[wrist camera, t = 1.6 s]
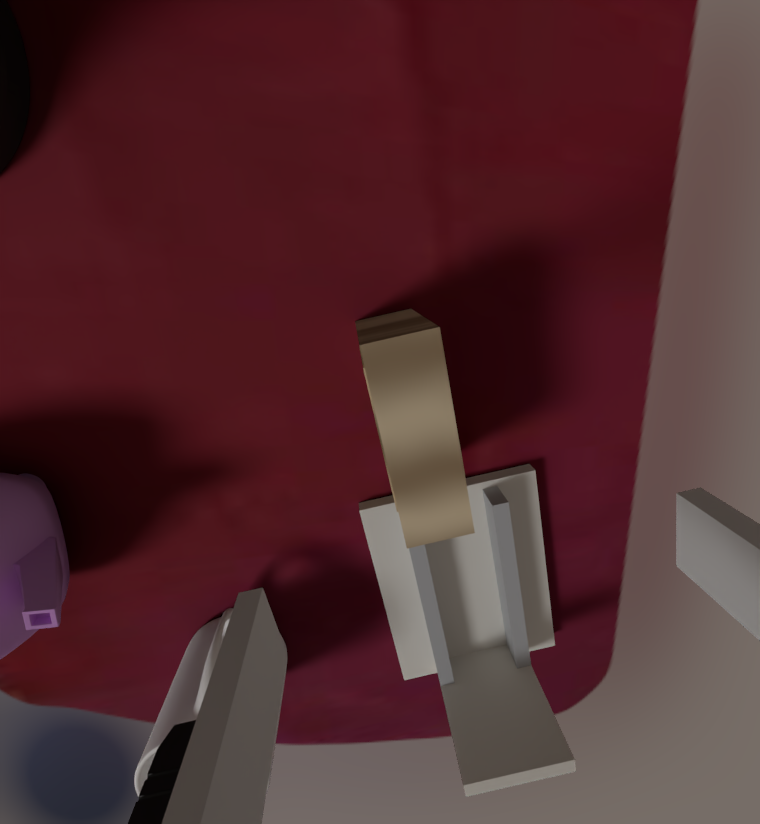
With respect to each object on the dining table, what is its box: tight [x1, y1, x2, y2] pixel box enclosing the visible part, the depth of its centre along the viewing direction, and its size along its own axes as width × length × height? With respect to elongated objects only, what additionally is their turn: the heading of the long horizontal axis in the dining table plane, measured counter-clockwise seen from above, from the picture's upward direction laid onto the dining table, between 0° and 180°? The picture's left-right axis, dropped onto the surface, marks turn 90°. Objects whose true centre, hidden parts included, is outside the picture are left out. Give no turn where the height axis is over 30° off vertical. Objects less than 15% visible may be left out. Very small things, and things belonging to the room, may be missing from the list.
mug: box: [134, 608, 287, 797], centre depth 33 cm, size 9×12×11 cm
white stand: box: [359, 464, 576, 797], centre depth 33 cm, size 18×14×11 cm
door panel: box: [355, 309, 475, 549], centre depth 28 cm, size 12×4×10 cm, turn 12°
